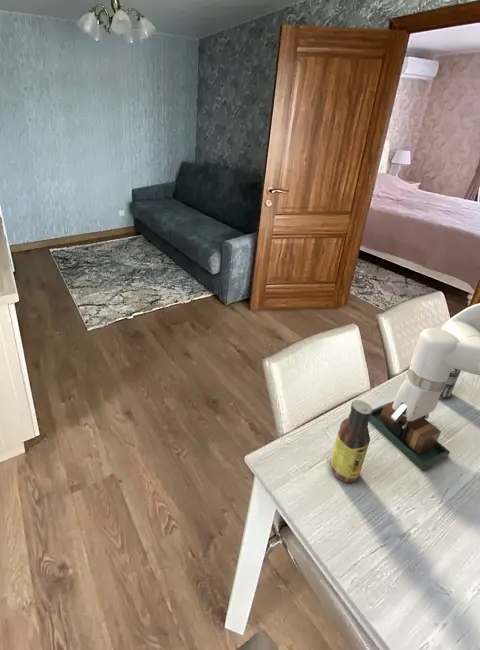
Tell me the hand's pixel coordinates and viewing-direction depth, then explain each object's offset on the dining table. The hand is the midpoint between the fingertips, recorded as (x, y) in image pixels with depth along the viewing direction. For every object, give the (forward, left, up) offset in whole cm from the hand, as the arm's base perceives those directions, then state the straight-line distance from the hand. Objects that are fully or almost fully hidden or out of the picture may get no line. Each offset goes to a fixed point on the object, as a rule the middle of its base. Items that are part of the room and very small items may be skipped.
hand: (406, 430), depth 89 cm
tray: (0, 0, -2) cm, 2 cm away
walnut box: (0, 0, -1) cm, 1 cm away
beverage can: (+7, -24, -2) cm, 25 cm away
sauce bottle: (-1, +22, -2) cm, 22 cm away
